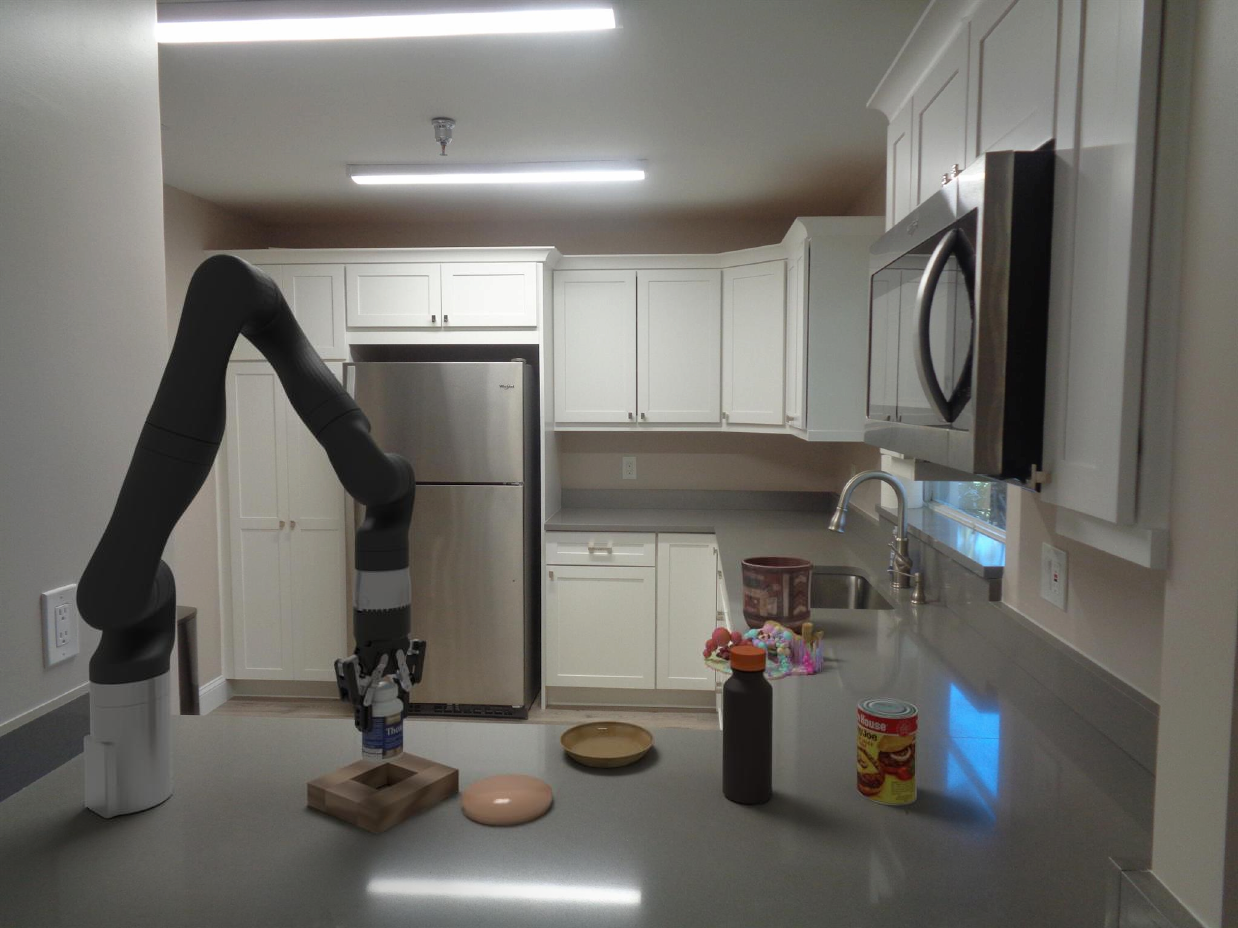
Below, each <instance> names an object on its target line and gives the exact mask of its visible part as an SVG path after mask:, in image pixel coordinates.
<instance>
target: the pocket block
mask: <svg viewBox="0 0 1238 928" xmlns="http://www.w3.org/2000/svg"><path fill="white" fill-rule="evenodd" d="M459 771H460V770H459V769H458V768H455V767H452V766H449V765H446V764H443V763H440V762H436V761H433V760H430V759H427V758H425V757H420V756H418V755H415V754H412V753H410V752H406V751H403V754H402V756H401V757H400V758H399V759H397V760H395V761H392V762H388V763H383V764H374V763H369V762H366V761H364V760H363V758H362V759H360V760H357V761H355V762H353V763H351V764H348V765H346V766H344V767H341V768H338V769H336V770H334V771H331V772H329V773H326V774H325V775H322V776H320V777H318V778H315V779H313V780H310V781H307V782H306V785H307V786H306V789H307V790H306V791H307V806H309V807H312V808H314V809H317V810H318V811H321V812H324V813H326V814H328V815H329V816H330V815H331V816H333V817H335V818H338V819H340V820H343V821H344V822H348V823H349V824H351V825H352V824H353V825H355V826H357V827H359V828H362V829H364V830H367V831H369V832H371V833H373V834H376V835H379V834H380V833H382V832H384V831H386V830H388V829H390V828H392V827H395V826H396V825H398V824H399V823H401V822H403V821H405V820H407V819H409V818H411V817H412V816H414V815H416V814H418V813H420V812H422V811H424V810H425V809H427V808H430V807H431V806H433V805H435V804H436V803H439V802H440V801H442V800H445V799H446V798H448V797H449V796H451V795H453V794H455V793H458V792H459V791H460V782H459V781H460V780H459V778H460V776H459V775H460V774H459V773H460V772H459ZM386 784H389V785H391V786H389V787H386V788H385V789H383V790H380V789H378V788H380V787H382V786H384V785H386Z"/></svg>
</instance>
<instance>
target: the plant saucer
mask: <svg viewBox="0 0 1238 928" xmlns="http://www.w3.org/2000/svg"><path fill="white" fill-rule="evenodd" d="M598 728H607V729H598ZM558 740H559V745H561V747H562V748H563V750H564V751H565V752H566V753H567V754H568V755H569V756H570V757H571V758H572V759H574V760H575V762H578V763H579V764H582V765H585V766H588V767H592V766H593V768H605V769H606V768H607V769H608V768H609V769H611V768H619V767H624V766H628V765H630V764H632V763H635V762H637V761H638V760H639V759H641V758H642V757H643V756H644V755H645V754H646V753H647V752H648V751H649V750H650V748H651V747H652V745H653V744H654V741H655V737H654V735H653V733H652V732H651V731H650V730H649V729H647V728H645V727H643V726H641V725H638V724H635V723H630V722H624V721H617V720H613V721H612V720H607V721H606V720H600V721H592V722H591V721H590V722H584V723H581V724H576V725H575V726H572V727H570V728H568V729H566V730H565V731H564V732H562V733H561V734H560V736H559V739H558Z"/></svg>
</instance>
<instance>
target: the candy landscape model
mask: <svg viewBox="0 0 1238 928" xmlns="http://www.w3.org/2000/svg"><path fill="white" fill-rule="evenodd" d="M813 628H814V623H812V622H808V623H803V625H802V631H801V635H800V634H795V633H794V632H793V631H792V630H791V629H788V628H786V627H783V626H781V625H780V624H779V623H777V622H774V621H772V620H771V621H766V622H765V624H764V627H763V628H762V629H750V630H749V631H748V632H746V633H745V634H744V635H743V637H742V633H740V632H739V631H732V632H730V631H729V630H728V629H727V628H725V627H724V626H719V627H717V628H714V630H713V632H711V633H712V634H711V638H710V639H708V640H707V641H706V642H705V649H703V651H702V656H703V661H704V665H705V666H706V667H707V668H709V669H711V670H712V671H715V672H720V673H722V674H724V675H729V676H730V677H731V676H732V670H731V669H730V649H731V648H733V647H736V646H756V647H760V648H763V649H764V650H765V651H766V668H765V669H766V671H765V672H763V676H764V678H765V679H766V680H767V681H772V680H779V679H780V680H781V679H783V677H785V676H803V675H804V676H806V675H807V676H808V675H812V674H813V673H814V672H815V673H817V671H819V672H821V671H822V670H823V669H824V664H825V662H824V661H825V660H824V657H823V656H824V655H823V641H822V639H823V636H824V631H823V630H821V631H816V632H814V633H812V632H813V631H812V630H813ZM730 642H731V644H730V645H729V643H730ZM719 647H720V648H719ZM718 648H719V649H718ZM717 650H719V651H717Z"/></svg>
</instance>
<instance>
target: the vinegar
mask: <svg viewBox="0 0 1238 928" xmlns="http://www.w3.org/2000/svg"><path fill="white" fill-rule="evenodd" d="M765 668H766V651H765V650H764V649H763V648H760V647H756V646H736V647H733V648H731V649H730V669H731V670H732V676H731V675H730V677H728V678H727V679H726V680H725V682H723V686H722V781H721V782H722V789H721V791H722V793H723V794H724V796H725V797H726V798H728V799H729V800H731V801H733V802H736V803H738V804H745V805H758V804H762V803H766V802H767V801H769V800H770V799H771V797H772V795H773V720H774V719H773V709H774V707H773V702H774V701H773V699H774V698H773V697H774V693H773V691H774V689H773V686H772V684H771V683H770V682H769V680H766V679H765V678H764V676H763V672H765V671H766V669H765Z"/></svg>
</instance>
